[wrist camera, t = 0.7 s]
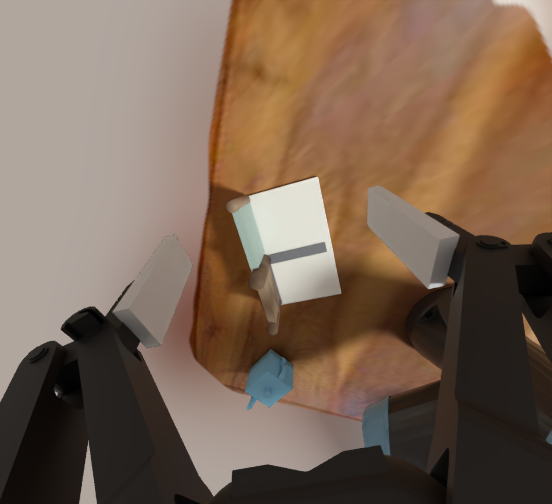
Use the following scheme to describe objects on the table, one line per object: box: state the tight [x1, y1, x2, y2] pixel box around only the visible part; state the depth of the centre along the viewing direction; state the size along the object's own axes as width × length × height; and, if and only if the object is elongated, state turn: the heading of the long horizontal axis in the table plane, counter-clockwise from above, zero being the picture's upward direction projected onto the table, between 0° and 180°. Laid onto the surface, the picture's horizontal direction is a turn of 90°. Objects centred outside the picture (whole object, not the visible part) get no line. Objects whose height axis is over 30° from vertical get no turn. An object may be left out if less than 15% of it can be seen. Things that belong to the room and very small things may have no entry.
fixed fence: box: [248, 254, 281, 335], centre depth 36 cm, size 11×2×9 cm, turn 15°
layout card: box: [249, 177, 341, 305], centre depth 38 cm, size 21×15×1 cm
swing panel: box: [226, 195, 265, 269], centre depth 33 cm, size 10×2×8 cm, turn 15°
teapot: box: [245, 349, 293, 410], centre depth 44 cm, size 12×6×8 cm, turn 142°
